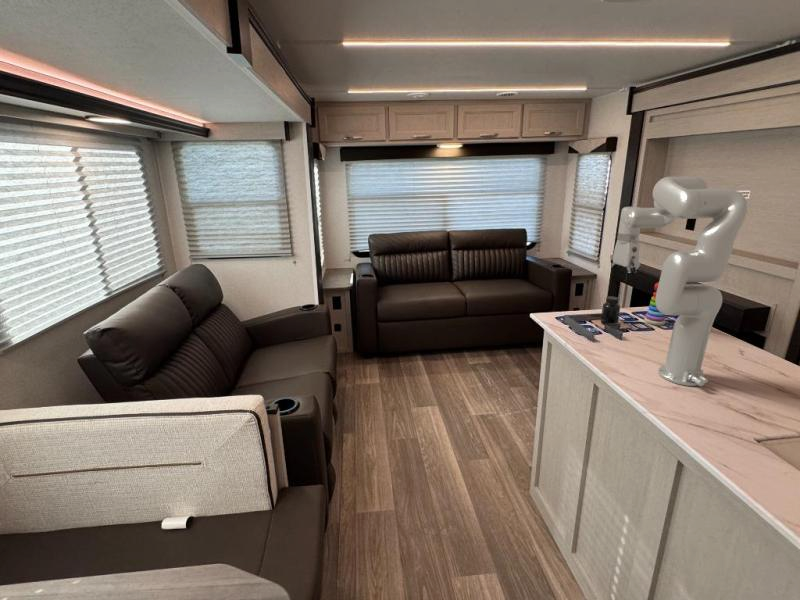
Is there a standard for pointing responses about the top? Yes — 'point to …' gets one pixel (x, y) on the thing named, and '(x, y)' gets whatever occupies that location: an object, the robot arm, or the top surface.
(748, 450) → the top surface
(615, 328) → the bent rails
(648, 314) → the stacking toy
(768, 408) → the top surface
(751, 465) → the top surface
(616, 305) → the supplement bottle
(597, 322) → the end pad
